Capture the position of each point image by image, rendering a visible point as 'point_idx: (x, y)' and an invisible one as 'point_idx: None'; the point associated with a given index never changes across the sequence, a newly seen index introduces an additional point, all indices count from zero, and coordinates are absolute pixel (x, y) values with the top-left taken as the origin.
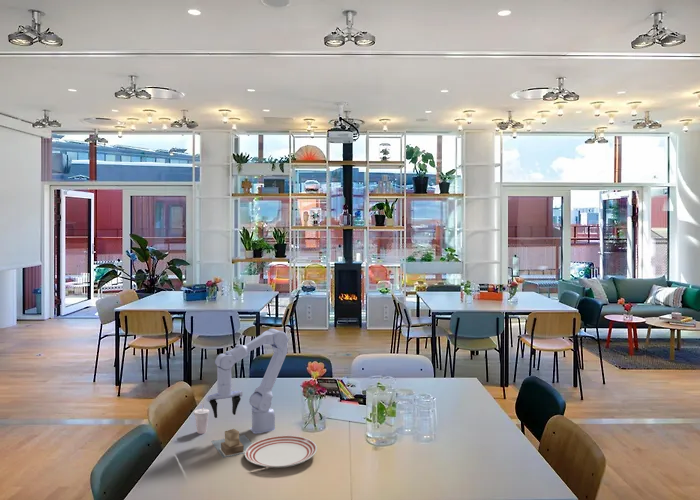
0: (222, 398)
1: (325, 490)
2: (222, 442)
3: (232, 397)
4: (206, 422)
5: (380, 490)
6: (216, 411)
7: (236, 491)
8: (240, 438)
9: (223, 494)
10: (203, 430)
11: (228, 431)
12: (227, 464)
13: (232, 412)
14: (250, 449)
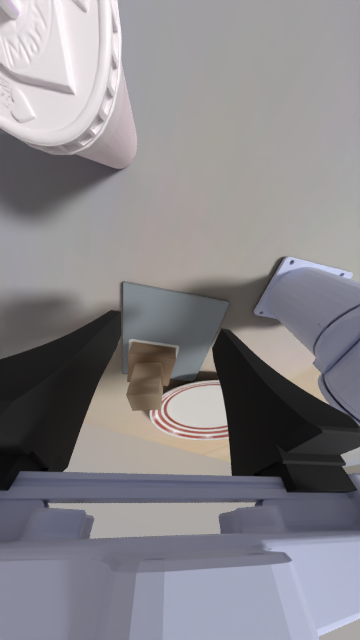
0: (130, 485)
1: (190, 448)
2: (132, 354)
3: (283, 438)
4: (111, 154)
5: (222, 457)
6: (99, 371)
7: (113, 427)
8: (204, 318)
9: (97, 426)
10: (108, 165)
11: (135, 399)
12: (125, 385)
13: (222, 332)
14: (175, 390)
